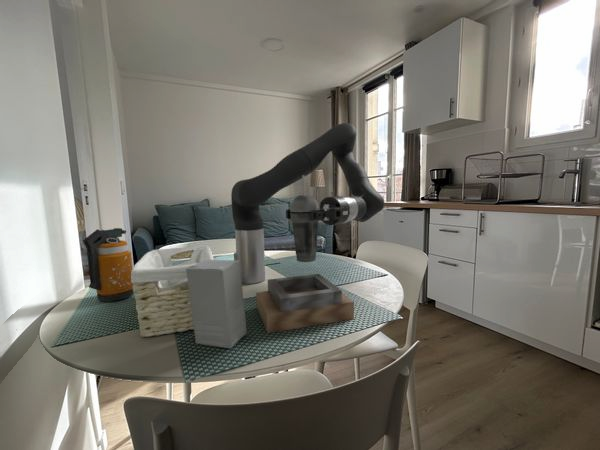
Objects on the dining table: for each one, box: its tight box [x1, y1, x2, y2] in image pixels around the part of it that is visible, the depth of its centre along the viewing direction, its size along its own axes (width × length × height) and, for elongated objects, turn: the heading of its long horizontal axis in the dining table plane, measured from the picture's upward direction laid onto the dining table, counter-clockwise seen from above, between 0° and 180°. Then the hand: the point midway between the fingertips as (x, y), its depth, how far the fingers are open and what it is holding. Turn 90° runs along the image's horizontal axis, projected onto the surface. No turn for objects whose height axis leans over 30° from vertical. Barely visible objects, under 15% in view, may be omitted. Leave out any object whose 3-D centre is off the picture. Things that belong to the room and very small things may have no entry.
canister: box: [82, 227, 135, 303], centre depth 80 cm, size 9×11×20 cm
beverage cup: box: [289, 175, 320, 263], centre depth 67 cm, size 7×7×20 cm
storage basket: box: [131, 245, 215, 338], centre depth 69 cm, size 24×16×15 cm
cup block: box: [255, 273, 355, 334], centre depth 69 cm, size 20×14×7 cm
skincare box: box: [186, 259, 248, 349], centre depth 56 cm, size 8×7×16 cm
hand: (299, 214), depth 66 cm, fingers closed on beverage cup, 7 cm apart
